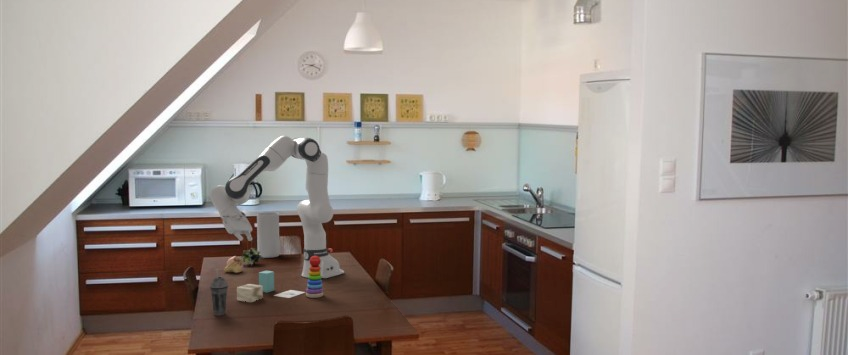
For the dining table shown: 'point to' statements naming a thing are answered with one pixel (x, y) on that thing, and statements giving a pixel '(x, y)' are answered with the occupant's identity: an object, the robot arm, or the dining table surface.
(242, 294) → the base block
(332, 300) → the dining table surface
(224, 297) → the beverage cup
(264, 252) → the cylinder vase
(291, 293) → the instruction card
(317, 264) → the stacking toy
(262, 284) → the teal brick
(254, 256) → the green leafy clump
